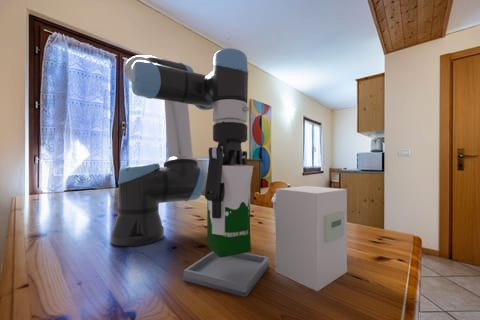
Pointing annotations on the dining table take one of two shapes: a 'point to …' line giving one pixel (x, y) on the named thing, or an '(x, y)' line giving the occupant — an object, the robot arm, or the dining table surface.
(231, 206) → the milk carton
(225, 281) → the tray
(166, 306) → the dining table surface
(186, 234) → the dining table surface
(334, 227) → the box
